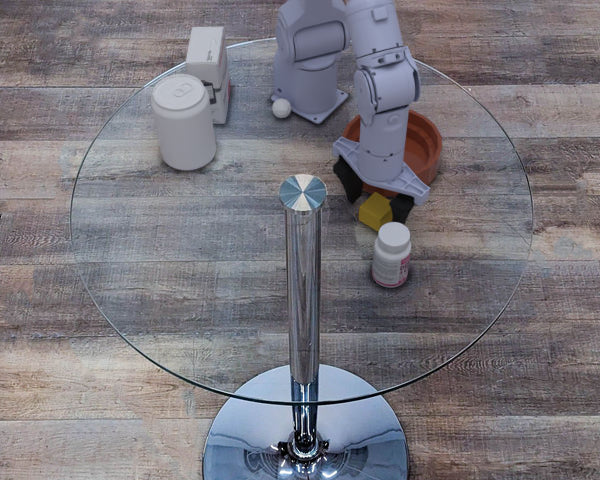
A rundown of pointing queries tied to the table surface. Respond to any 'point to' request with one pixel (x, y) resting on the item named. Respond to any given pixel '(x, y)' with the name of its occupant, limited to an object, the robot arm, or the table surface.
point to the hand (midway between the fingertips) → (376, 212)
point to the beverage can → (183, 122)
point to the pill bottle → (391, 255)
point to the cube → (375, 211)
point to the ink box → (210, 67)
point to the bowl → (409, 149)
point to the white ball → (281, 108)
